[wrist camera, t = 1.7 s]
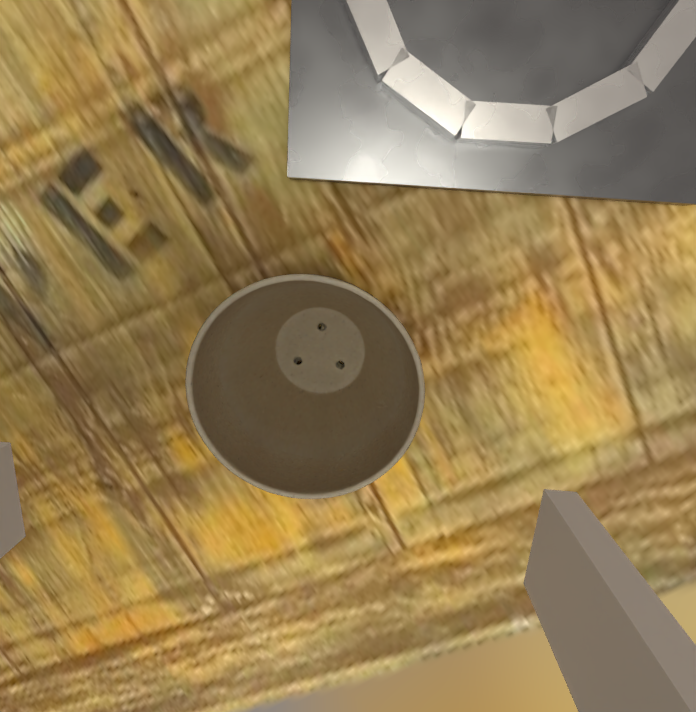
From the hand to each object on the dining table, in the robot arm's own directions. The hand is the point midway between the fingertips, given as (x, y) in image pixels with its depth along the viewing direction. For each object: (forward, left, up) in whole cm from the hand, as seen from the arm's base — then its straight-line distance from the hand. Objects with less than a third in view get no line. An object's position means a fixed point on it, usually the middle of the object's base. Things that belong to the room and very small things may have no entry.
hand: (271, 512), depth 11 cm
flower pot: (0, 0, -15) cm, 15 cm away
